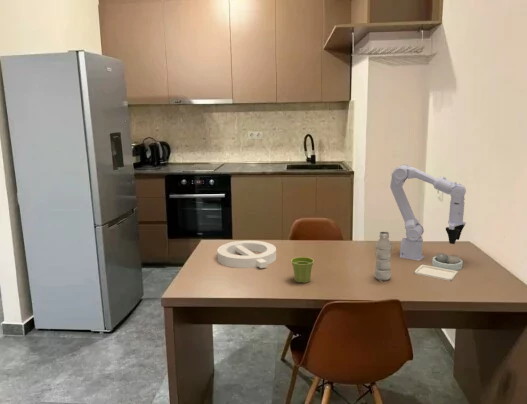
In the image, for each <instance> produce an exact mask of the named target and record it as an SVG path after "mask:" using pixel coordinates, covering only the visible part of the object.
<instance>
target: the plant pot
mask: <svg viewBox="0 0 527 404" xmlns="http://www.w3.org/2000/svg"><path fill="white" fill-rule="evenodd" d="M290 262H291V264H292V268H293V275H294V280H295V282H296V283H305V284H306V283H308V282H310V281H311V275H312V268H313V265H314V262H315V260H314V258H311V257H308V256H297V257H292V259H291V260H290Z"/></svg>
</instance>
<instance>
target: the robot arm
mask: <svg viewBox="0 0 527 404" xmlns="http://www.w3.org/2000/svg"><path fill="white" fill-rule="evenodd" d="M407 179H408V180H409V179H410V180H411V179H418V180H421V181H422V182H426V183H428V184H430V185H432V186H433V188H434V189H436V190H437V191H440V192H442V193H444V194H446V195H450V203H449V212H448V223H447V224H448V226H447V227H445V231H446V233H447V237H448V243H449V244H450V245H455V244H456V243H457V242H456V241H459V240H460V238H461V234H462V231H463V230H464V227H465V226H466V224H467V223H466V222H465V221H464V211H465V200H466V199H465V194H466V193H467V190H466V187H465V186H464V185H463V184H461V183H457V181H454V182H453V181H451V180H449V179H447V177H445V176H443V177H442V176H439V177H435V176H433V175H431V174H429V173H427V172H425V171H422V170H421V169H419V168H416V167H414V166H410V165H408V164H402V165H400V166H397V167H396V168H395V169H393V172H392V173H391V179H390V186H389V187H390V190H391V192H392V195H393V197H394V200H395V203H396V204H397V207H398V210H399V212H400V214H401V216H402V219H403V221H404V229H405V231H406V232H405V236H406V237H402V239H401V241H400V250H399V258H403V259H409V260H413V261H414V260H415V261H421V260H422V259H423V258H424V257H425V255H422V254H423V240H424V239H423V236H422V235H423V234H424V232H425V230H424V227H423V226H422V225H421V224H420V222H419V220H418V219H417V218H416V216H415V213H414V212H413V209H412V207H411V205H410V202H409V199H408V197H407V195H406V193H405V191H404V187H403V186H404V184H405V182H406V180H407Z"/></svg>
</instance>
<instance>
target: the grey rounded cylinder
mask: <svg viewBox="0 0 527 404" xmlns="http://www.w3.org/2000/svg"><path fill="white" fill-rule="evenodd" d="M447 256H448V262H447V264H457V263H459V259H460V256H458V255H454V254H451V255H447Z"/></svg>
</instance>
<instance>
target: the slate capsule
mask: <svg viewBox="0 0 527 404" xmlns="http://www.w3.org/2000/svg"><path fill="white" fill-rule="evenodd" d="M436 256H437V258H436V261H438V262H441V263H446V264H448V262H447V256H448V254H447V253H443V252H442V253H441V252H439V253H436Z"/></svg>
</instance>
